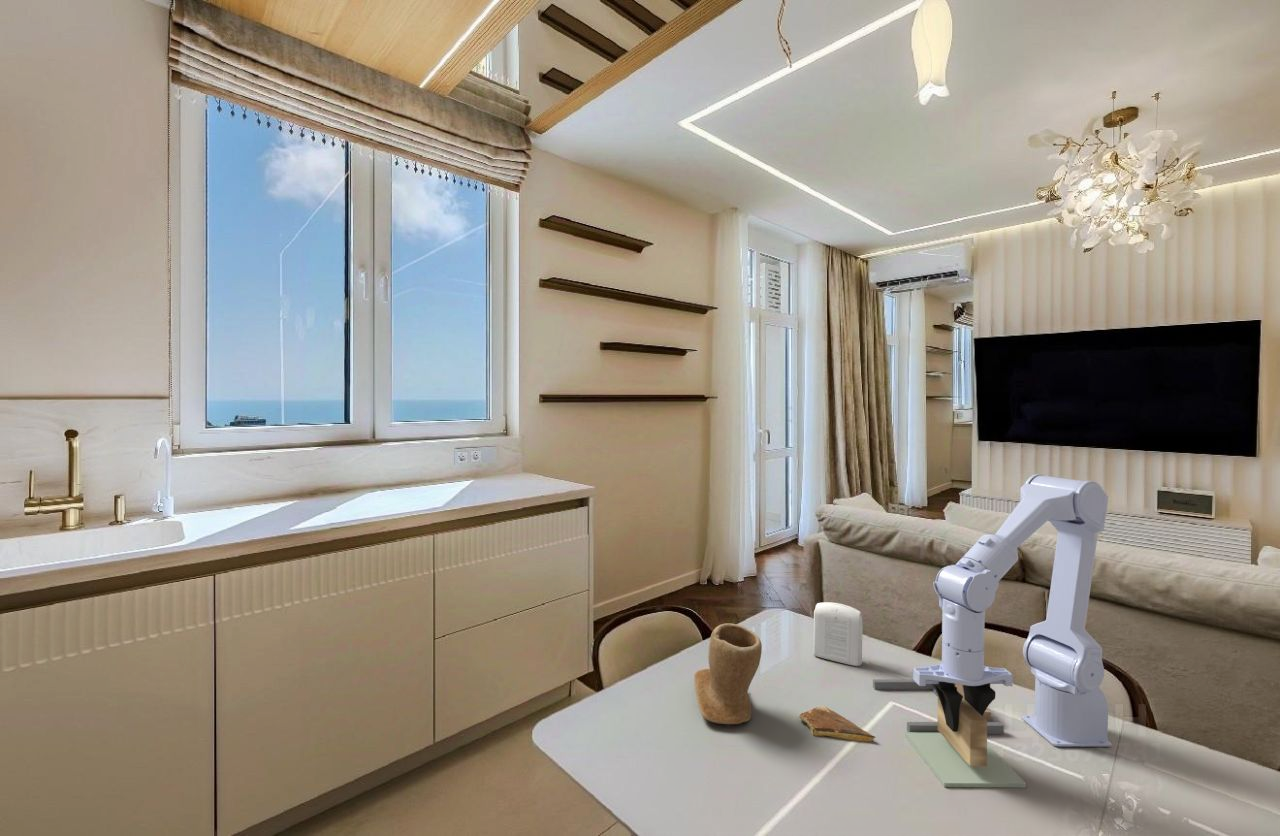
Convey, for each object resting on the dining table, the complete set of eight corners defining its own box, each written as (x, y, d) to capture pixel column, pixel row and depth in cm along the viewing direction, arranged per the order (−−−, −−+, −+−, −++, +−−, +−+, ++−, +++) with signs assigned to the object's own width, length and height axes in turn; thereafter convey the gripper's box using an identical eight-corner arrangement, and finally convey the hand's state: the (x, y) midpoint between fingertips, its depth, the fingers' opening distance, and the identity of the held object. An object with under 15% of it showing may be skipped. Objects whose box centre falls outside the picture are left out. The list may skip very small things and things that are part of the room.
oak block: (952, 729, 89) (952, 688, 89) (986, 766, 80) (987, 720, 80) (937, 729, 89) (937, 688, 89) (970, 766, 80) (970, 720, 80)
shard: (875, 745, 89) (875, 735, 89) (844, 761, 85) (844, 750, 85) (824, 712, 98) (824, 703, 98) (794, 725, 95) (794, 715, 95)
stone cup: (767, 731, 92) (767, 646, 92) (698, 729, 93) (698, 645, 92) (752, 684, 107) (752, 611, 107) (693, 683, 108) (693, 611, 107)
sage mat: (976, 735, 90) (976, 732, 90) (1026, 787, 78) (1026, 783, 78) (905, 735, 91) (905, 732, 91) (944, 787, 79) (944, 783, 79)
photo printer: (863, 660, 117) (864, 605, 116) (860, 669, 113) (861, 612, 113) (815, 649, 122) (815, 596, 122) (811, 657, 118) (811, 602, 118)
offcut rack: (953, 686, 106) (953, 672, 106) (1003, 734, 91) (1004, 717, 91) (872, 686, 106) (872, 672, 106) (909, 733, 91) (909, 716, 91)
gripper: (992, 632, 88) (991, 713, 88) (904, 632, 88) (903, 712, 88) (1022, 653, 81) (1021, 740, 81) (926, 652, 81) (925, 739, 81)
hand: (961, 727), depth 84 cm, fingers closed on oak block, 2 cm apart
